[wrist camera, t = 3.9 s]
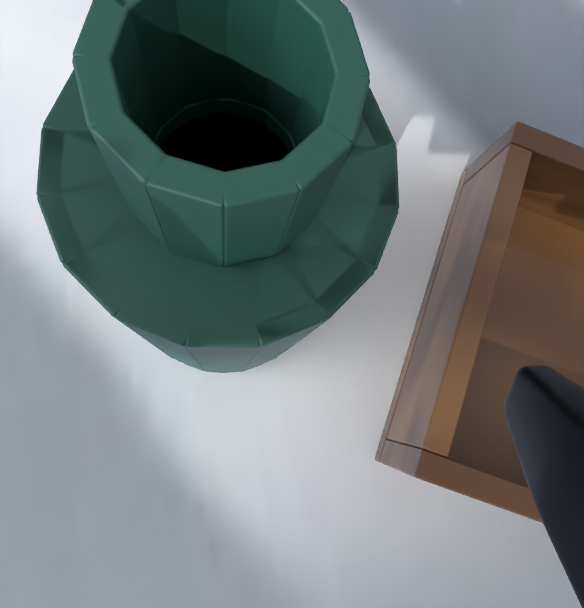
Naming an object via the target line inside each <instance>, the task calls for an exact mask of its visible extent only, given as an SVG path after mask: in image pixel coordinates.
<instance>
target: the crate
mask: <svg viewBox="0 0 584 608" xmlns="http://www.w3.org/2000/svg"><path fill="white" fill-rule="evenodd" d="M538 365H544V366H548V367H550V368H552V369H554V370H555V371H557V372H558V373H560V374H562V375H563V376H565V377H567V378H568V379H570V380H571V381H573V382H575V383H576V384H578V385H579V386H581V387H583V388H584V148H582V147H580V146H577V145H575V144H572V143H570V142H567V141H565V140H562V139H560V138H557V137H555V136H553V135H550V134H548V133H545V132H543V131H540V130H538V129H535V128H533V127H530V126H528V125H525V124H523V123H520V122H516V123H515V124H514V125H513V126H512V127H511V128H510V129H509V130H508V131H507V132H506V133H505V134H504V135H503V136H501V137H500V138H499V139H498V140H497V141H496V142H495V143H494V144H493V145H492V146H491V147H490V148H489V149H488V150H487V151H485V152H484V153H483V154H482V155H481V156H480V157H479V158H478V159H477V160H476V161H475V162H474V163H473V164H472V165H471V166H470V167H469V168H467V169H466V170H465V171H464V172H463V173H462V176H461V179H460V182H459V185H458V189H457V192H456V195H455V198H454V202H453V205H452V208H451V212H450V215H449V218H448V221H447V225H446V228H445V231H444V234H443V238H442V241H441V244H440V248H439V251H438V254H437V257H436V261H435V264H434V267H433V270H432V274H431V277H430V280H429V283H428V287H427V290H426V293H425V297H424V300H423V303H422V306H421V310H420V313H419V316H418V319H417V323H416V326H415V329H414V333H413V336H412V339H411V342H410V346H409V349H408V352H407V355H406V359H405V362H404V365H403V369H402V372H401V375H400V378H399V382H398V385H397V388H396V391H395V395H394V398H393V401H392V405H391V408H390V411H389V414H388V418H387V421H386V424H385V427H384V431H383V434H382V437H381V441H380V444H379V447H378V450H377V454H376V457H375V460H376V461H379V462H381V463H383V464H386V465H388V466H390V467H393V468H395V469H397V470H399V471H402V472H404V473H406V474H409V475H411V476H413V477H416V478H419V479H421V480H424V481H427V482H430V483H433V484H435V485H438V486H441V487H444V488H447V489H449V490H452V491H455V492H458V493H461V494H463V495H466V496H469V497H472V498H475V499H477V500H480V501H483V502H486V503H489V504H491V505H494V506H497V507H500V508H503V509H505V510H508V511H511V512H514V513H517V514H519V515H522V516H525V517H528V518H530V519H533V520H536V521H539V522H542V523H543V521H542V519H541V517H540V515H539V512H538V510H537V508H536V505H535V503H534V500H533V498H532V495H531V492H530V490H529V487H528V484H527V481H526V478H525V475H524V472H523V469H522V466H521V463H520V460H519V457H518V454H517V451H516V448H515V446H514V443H513V440H512V437H511V434H510V431H509V428H508V425H507V422H506V419H505V415H504V403H505V399H506V397H507V394H508V392H509V389H510V387H511V385H512V382H513V380H514V377H515V375H516V372H517V371H518V370H519V369H520V368H521V367H524V366H538Z"/></svg>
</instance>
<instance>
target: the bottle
mask: <svg viewBox="0 0 584 608" xmlns="http://www.w3.org/2000/svg"><path fill="white" fill-rule="evenodd" d="M72 62H73V67H74V70H73V72H72V74H71V75H70V77H69V79H68V81H67V83H66V84H65V86H64V88H63V90H62V91H61V93H60V95H59V97H58V99H57V100H56V102H55V104H54V106H53V108H52V109H51V111H50V113H49V115H48V116H47V118H46V120H45V122H44V124H43V128H42V130H41V143H40V156H39V169H38V182H37V196H38V198H37V200H38V202H39V205H40V208H41V210H42V213H43V216H44V218H45V221H46V224H47V226H48V229H49V232H50V235H51V237H52V240H53V243H54V245H55V248H56V251H57V253H58V256H59V259H60V261H61V262H62V263H63V265H64V267H65V268H66V269H67V270H68V271H69V272H70V273H71V274H72V275H73V276H74V277H75V278H76V279H77V281H78V282H79V283H80V284H81V285H82V286H83V287H84V288H85V289H86V290H87V291H88V292H89V293H90V294H91V295H92V296H93V297H94V298H95V299H96V300H97V301H98V302H99V303H100V304H101V305H102V306H103V307H104V308H105V309H106V310H107V311H108V312H109V313H110V314H111V315H112V316H113V317H115V318H116V319H118V320H119V321H120V322H122V323H123V324H125V325H126V326H127V327H129V328H130V329H132V330H133V331H134V332H136V333H137V334H139V335H140V336H142V337H143V338H144V339H146V340H147V341H149V342H150V343H151V344H153V345H154V346H156V347H157V348H158V349H160V350H161V351H163V352H164V353H166V354H167V355H168V356H170V357H171V358H174V359H176V360H178V361H181V362H183V363H185V364H187V365H189V366H192V367H195V368H198V369H200V370H203V371H207V372H223V373H225V372H237V371H245V370H248V369H250V368H253V367H256V366H259V365H261V364H263V363H265V362H267V361H269V360H272V359H274V358H276V357H277V356H279V355H280V354H282V353H283V352H285V351H286V350H287V349H289V348H290V347H291V346H293V345H294V344H295V343H297V342H298V341H299V340H301V339H302V338H303V337H305V336H306V335H307V334H309V333H310V332H312V331H313V330H314V329H316V328H317V327H318V326H320V325H321V324H322V323H324V322H325V321H326V320H328V319H329V318H330V317H331V316H332V315H333V314H334V313H335V312H336V311H337V310H338V309H339V308H340V307H341V306H342V305H343V304H344V303H345V302H346V301H347V300H348V299H349V298H350V297H351V296H352V295H353V294H354V293H355V292H356V291H357V290H358V289H359V288H360V287H361V286H362V285H363V284H364V283H365V282H366V281H367V280H368V279H369V278H370V277H371V276H372V275H373V274H374V271H375V270H376V269H377V267H378V264H379V262H380V259H381V256H382V254H383V251H384V248H385V246H386V243H387V241H388V238H389V235H390V233H391V230H392V228H393V225H394V222H395V220H396V217H397V214H398V209H399V193H398V170H397V148H396V146H395V141H394V139H393V137H392V135H391V132H390V130H389V128H388V126H387V124H386V122H385V119H384V117H383V115H382V113H381V111H380V109H379V106H378V104H377V102H376V100H375V98H374V96H373V93H372V91H371V89H370V88H368V87H369V83H370V78H369V74H370V73H369V70H368V67H367V63H366V60H365V57H364V54H363V51H362V48H361V44H360V41H359V38H358V35H357V32H356V29H355V25H354V22H353V19H352V16H351V13H350V12H348V9H347V7H346V6H345V5H344V4H343V3H342V2H341V1H340V0H93V2H92V4H91V7H90V10H89V12H88V15H87V17H86V20H85V23H84V25H83V28H82V30H81V33H80V36H79V38H78V41H77V43H76V46H75V49H74V51H73V61H72Z"/></svg>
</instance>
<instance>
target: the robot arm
mask: <svg viewBox="0 0 584 608" xmlns="http://www.w3.org/2000/svg"><path fill="white" fill-rule="evenodd" d="M504 415H505V419H506V422H507V425H508V428H509V431H510V434H511V437H512V440H513V443H514V446H515V448H516V451H517V454H518V457H519V460H520V463H521V466H522V469H523V472H524V475H525V478H526V481H527V484H528V487H529V490H530V492H531V495H532V498H533V500H534V503H535V505H536V508H537V510H538V512H539V515H540V517H541V519H542V521H543V524H544V526H545V528H546V530H547V532H548V535H549V537H550V539H551V541H552V543H553V545H554V548H555V550H556V552H557V554H558V556H559V558H560V561H561V563H562V565H563V567H564V569H565V571H566V574H567V576H568V578H569V580H570V582H571V585H572V587H573V589H574V591H575V593H576V595H577V598H578V600H579V602H580V604H581V606H582V608H584V388H583V387H581V386H579V385H578V384H576V383H575V382H573V381H571V380H570V379H568V378H567V377H565V376H563V375H562V374H560V373H558V372H557V371H555V370H554V369H552V368H550V367H548V366H544V365H538V366H524V367H521V368H520V369H519V370H518V371H517V372H516V375H515V377H514V380H513V382H512V385H511V387H510V389H509V392H508V394H507V397H506V399H505V403H504Z"/></svg>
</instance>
